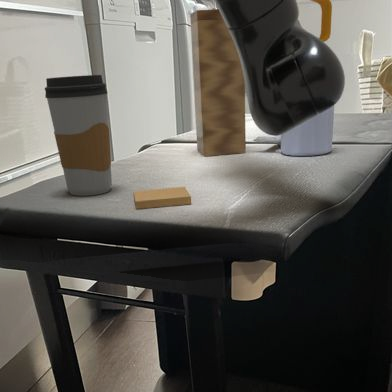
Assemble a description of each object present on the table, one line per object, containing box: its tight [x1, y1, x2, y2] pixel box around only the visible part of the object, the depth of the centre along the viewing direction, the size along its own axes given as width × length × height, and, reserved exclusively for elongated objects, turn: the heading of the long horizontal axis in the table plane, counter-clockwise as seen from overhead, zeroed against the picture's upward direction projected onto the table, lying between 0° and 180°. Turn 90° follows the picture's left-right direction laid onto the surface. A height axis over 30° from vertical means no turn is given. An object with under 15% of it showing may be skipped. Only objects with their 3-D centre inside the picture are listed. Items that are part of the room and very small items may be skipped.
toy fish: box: [252, 134, 281, 146], centre depth 108 cm, size 6×18×4 cm, turn 151°
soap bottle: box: [280, 0, 335, 157], centre depth 93 cm, size 9×9×25 cm
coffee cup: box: [44, 74, 113, 197], centre depth 76 cm, size 8×8×15 cm
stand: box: [189, 8, 247, 157], centre depth 100 cm, size 8×8×23 cm
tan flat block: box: [132, 186, 192, 210], centre depth 71 cm, size 7×6×1 cm
